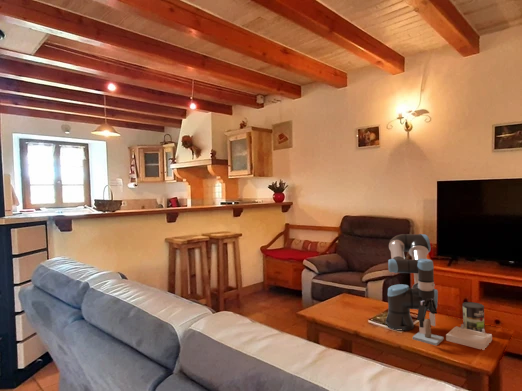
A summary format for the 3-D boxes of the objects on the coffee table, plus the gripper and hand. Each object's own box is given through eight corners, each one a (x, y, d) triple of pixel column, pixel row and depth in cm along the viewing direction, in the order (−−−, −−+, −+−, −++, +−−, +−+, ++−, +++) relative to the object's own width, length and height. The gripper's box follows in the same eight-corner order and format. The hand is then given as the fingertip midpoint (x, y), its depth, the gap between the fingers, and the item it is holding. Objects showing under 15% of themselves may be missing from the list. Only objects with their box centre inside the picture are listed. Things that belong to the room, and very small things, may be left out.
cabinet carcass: (446, 340, 181) (446, 330, 181) (455, 331, 192) (455, 322, 192) (484, 350, 169) (483, 340, 169) (492, 340, 179) (491, 330, 179)
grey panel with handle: (412, 339, 184) (411, 319, 184) (420, 333, 191) (419, 314, 191) (436, 346, 176) (435, 325, 176) (443, 340, 183) (442, 319, 183)
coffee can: (489, 332, 189) (488, 306, 189) (474, 335, 186) (473, 308, 186) (473, 325, 199) (472, 300, 199) (458, 328, 196) (457, 303, 196)
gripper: (424, 295, 172) (425, 338, 172) (442, 285, 189) (443, 324, 189) (409, 293, 177) (410, 334, 178) (428, 283, 195) (429, 320, 195)
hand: (427, 329), depth 183 cm, fingers open, 13 cm apart
